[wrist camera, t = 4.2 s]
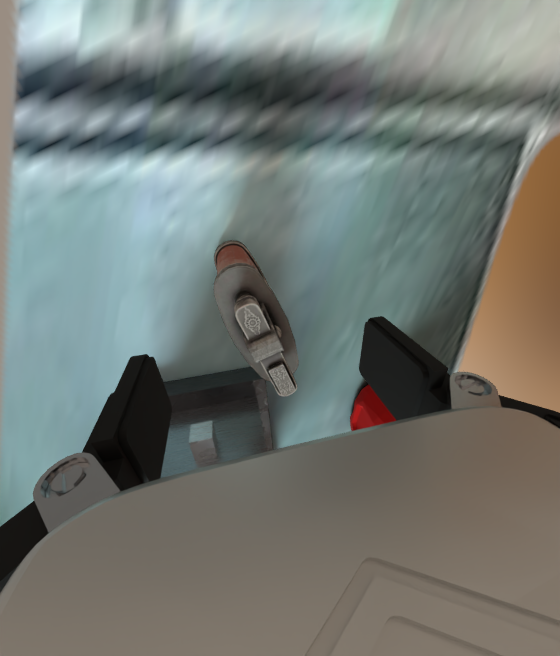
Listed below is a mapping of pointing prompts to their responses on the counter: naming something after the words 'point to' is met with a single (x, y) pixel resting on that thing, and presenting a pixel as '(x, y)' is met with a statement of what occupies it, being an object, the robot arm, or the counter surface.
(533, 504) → the robot arm
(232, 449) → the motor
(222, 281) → the lighter
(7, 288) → the counter surface
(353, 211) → the counter surface
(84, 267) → the counter surface
